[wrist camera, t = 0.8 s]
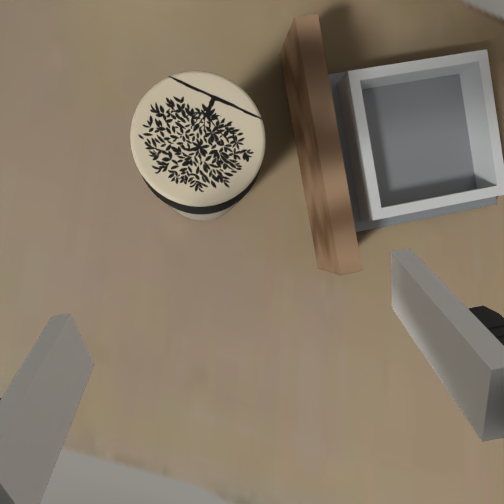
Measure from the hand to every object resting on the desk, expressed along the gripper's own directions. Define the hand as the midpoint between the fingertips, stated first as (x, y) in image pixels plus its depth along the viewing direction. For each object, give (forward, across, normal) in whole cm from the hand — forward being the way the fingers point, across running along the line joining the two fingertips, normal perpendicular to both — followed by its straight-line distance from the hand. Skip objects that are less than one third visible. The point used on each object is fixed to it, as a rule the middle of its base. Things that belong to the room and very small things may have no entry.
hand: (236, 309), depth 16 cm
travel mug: (+26, -3, -2) cm, 26 cm away
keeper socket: (+28, +19, -3) cm, 34 cm away
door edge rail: (+27, +8, -2) cm, 28 cm away
